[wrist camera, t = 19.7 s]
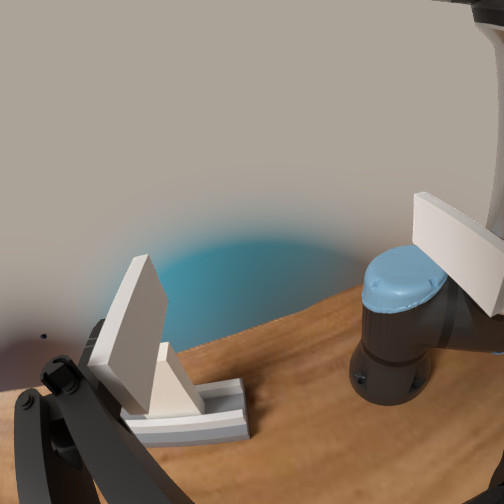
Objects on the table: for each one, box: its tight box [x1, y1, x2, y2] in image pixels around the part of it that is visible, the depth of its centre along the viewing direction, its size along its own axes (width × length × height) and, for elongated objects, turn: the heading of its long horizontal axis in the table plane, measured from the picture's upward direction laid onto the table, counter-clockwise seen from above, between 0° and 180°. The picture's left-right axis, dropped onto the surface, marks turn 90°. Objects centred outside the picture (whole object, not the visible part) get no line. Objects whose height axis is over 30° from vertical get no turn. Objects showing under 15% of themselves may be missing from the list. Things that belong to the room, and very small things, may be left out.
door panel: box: [144, 342, 205, 419], centre depth 41 cm, size 10×4×16 cm, turn 97°
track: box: [121, 378, 250, 447], centre depth 45 cm, size 24×12×4 cm, turn 97°
